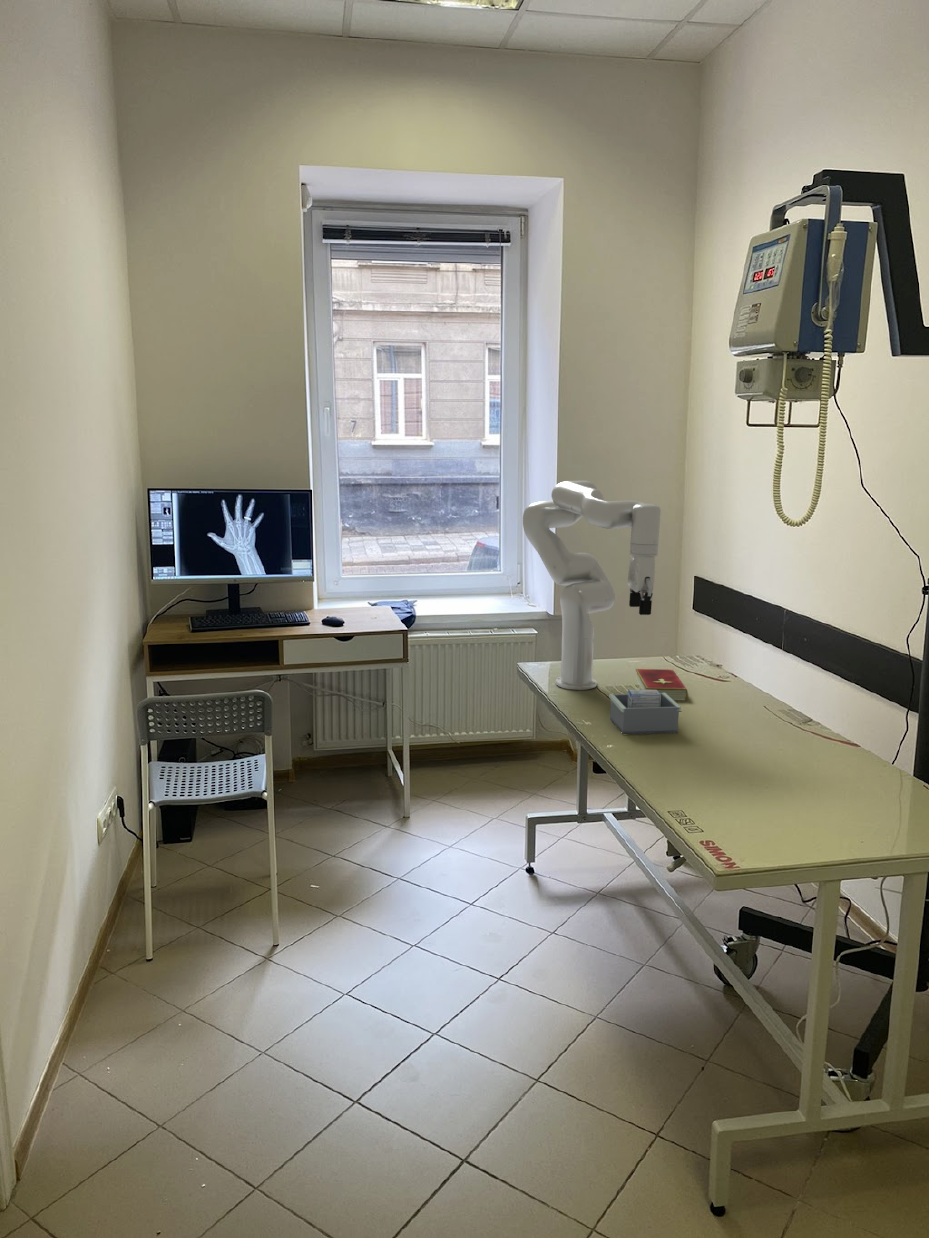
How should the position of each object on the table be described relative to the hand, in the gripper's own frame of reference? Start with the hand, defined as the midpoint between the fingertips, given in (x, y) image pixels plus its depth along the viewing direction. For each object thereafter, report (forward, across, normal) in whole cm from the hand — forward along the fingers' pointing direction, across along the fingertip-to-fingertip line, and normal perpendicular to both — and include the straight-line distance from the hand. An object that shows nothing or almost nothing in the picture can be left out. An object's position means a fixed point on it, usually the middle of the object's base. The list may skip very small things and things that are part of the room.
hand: (639, 610), depth 253 cm
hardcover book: (+29, -15, +13) cm, 35 cm away
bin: (+28, +17, -2) cm, 33 cm away
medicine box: (+27, +17, -2) cm, 32 cm away
